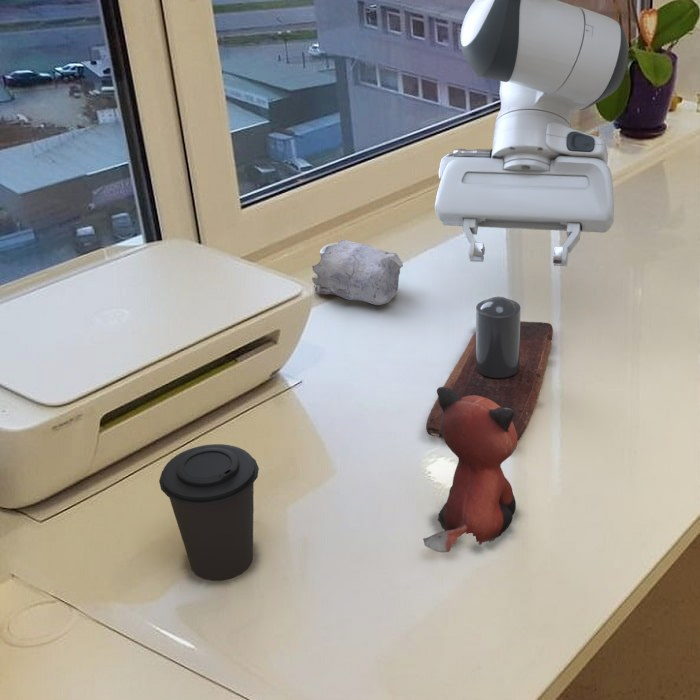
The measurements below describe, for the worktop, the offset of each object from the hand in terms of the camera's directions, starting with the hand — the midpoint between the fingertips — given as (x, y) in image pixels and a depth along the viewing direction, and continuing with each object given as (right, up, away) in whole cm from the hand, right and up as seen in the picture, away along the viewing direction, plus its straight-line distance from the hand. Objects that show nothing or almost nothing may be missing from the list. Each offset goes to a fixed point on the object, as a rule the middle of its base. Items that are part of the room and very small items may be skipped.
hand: (517, 262), depth 120 cm
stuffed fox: (-9, -26, -27) cm, 38 cm away
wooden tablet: (-3, -13, -5) cm, 15 cm away
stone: (-18, -3, +16) cm, 24 cm away
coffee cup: (-30, -28, -29) cm, 50 cm away
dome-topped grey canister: (-3, -12, -6) cm, 14 cm away
